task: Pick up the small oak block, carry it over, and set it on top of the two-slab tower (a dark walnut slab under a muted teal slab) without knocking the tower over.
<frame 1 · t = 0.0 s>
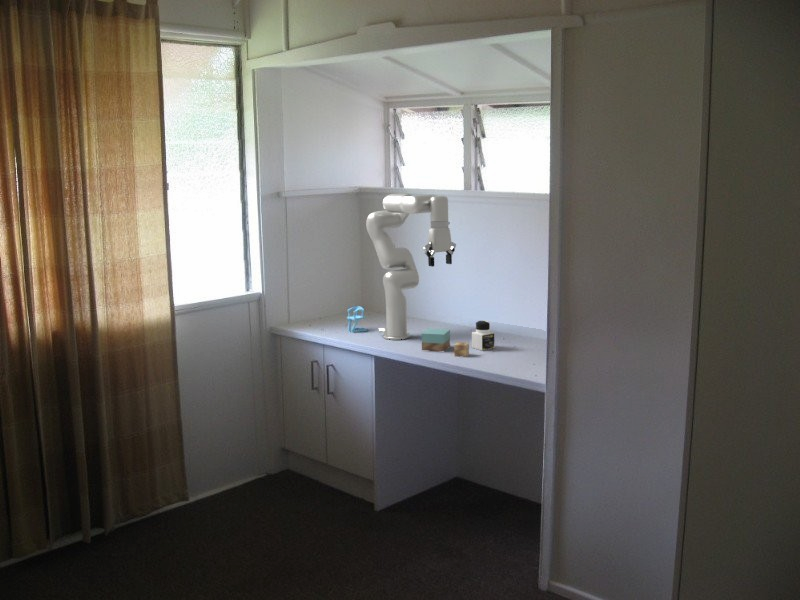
hand: (440, 265, 359), 37 cm above the table, tool pointing down, fingers open, 9 cm apart
chair: (356, 331, 408), on the table
teal slab: (436, 340, 367), point 4 cm above the table, touching walnut slab
walnut slab: (436, 349, 368), on the table, touching teal slab
oak block: (461, 355, 355), on the table
medicine bottle: (483, 348, 366), on the table
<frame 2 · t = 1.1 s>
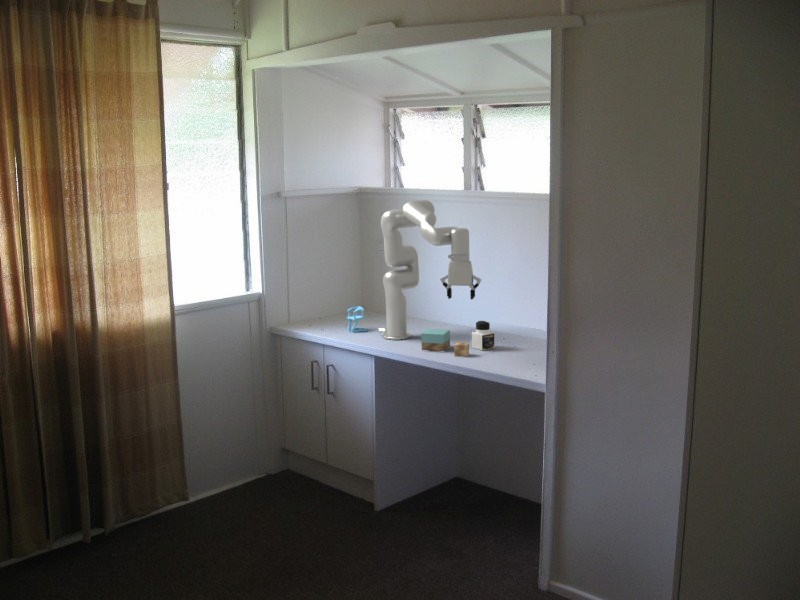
hand: (461, 298, 351), 24 cm above the table, tool pointing down, fingers open, 9 cm apart
nothing on the table moved.
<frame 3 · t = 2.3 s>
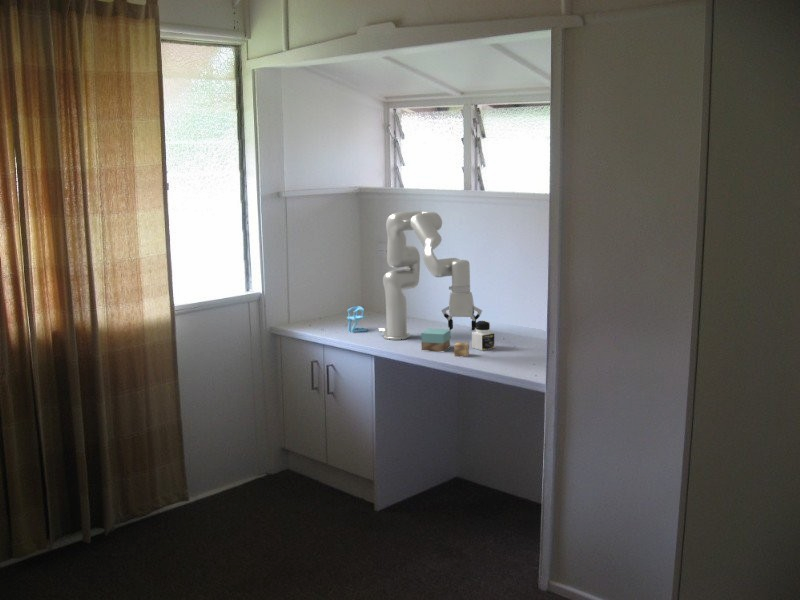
hand: (462, 329, 353), 11 cm above the table, tool pointing down, fingers open, 9 cm apart
nothing on the table moved.
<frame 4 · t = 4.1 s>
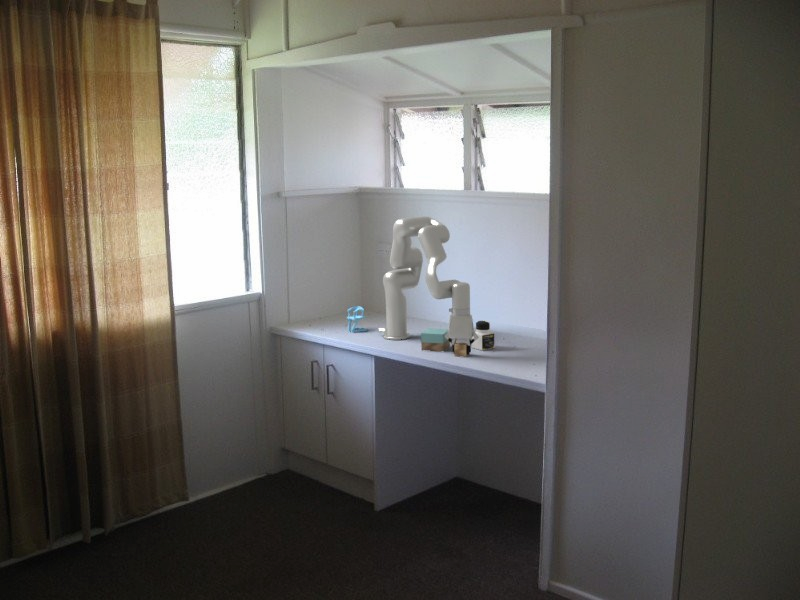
hand: (461, 353, 355), 1 cm above the table, tool pointing down, fingers closed on oak block, 5 cm apart
oak block: (461, 355, 355), on the table, touching gripper
everything else where it was.
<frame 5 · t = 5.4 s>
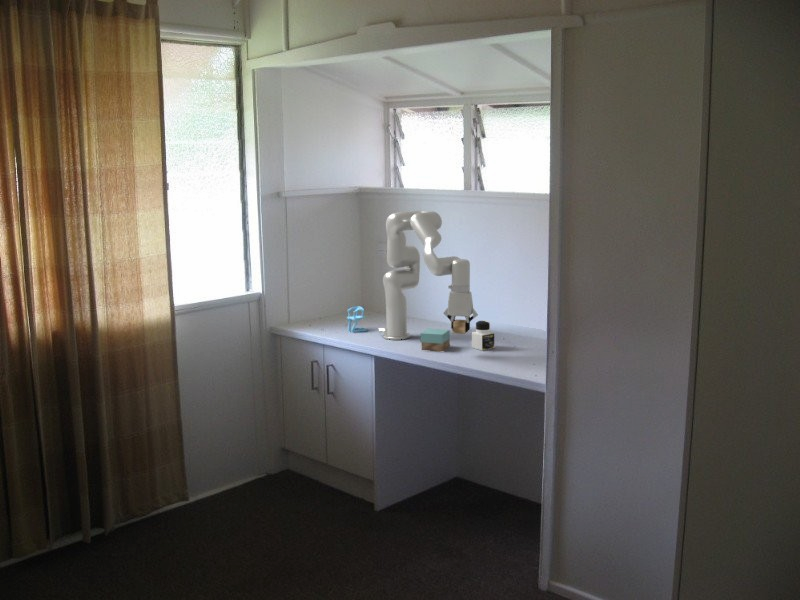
hand: (460, 330, 354), 11 cm above the table, tool pointing down, fingers closed on oak block, 4 cm apart
oak block: (460, 332, 354), point 10 cm above the table, touching gripper
everything else where it was.
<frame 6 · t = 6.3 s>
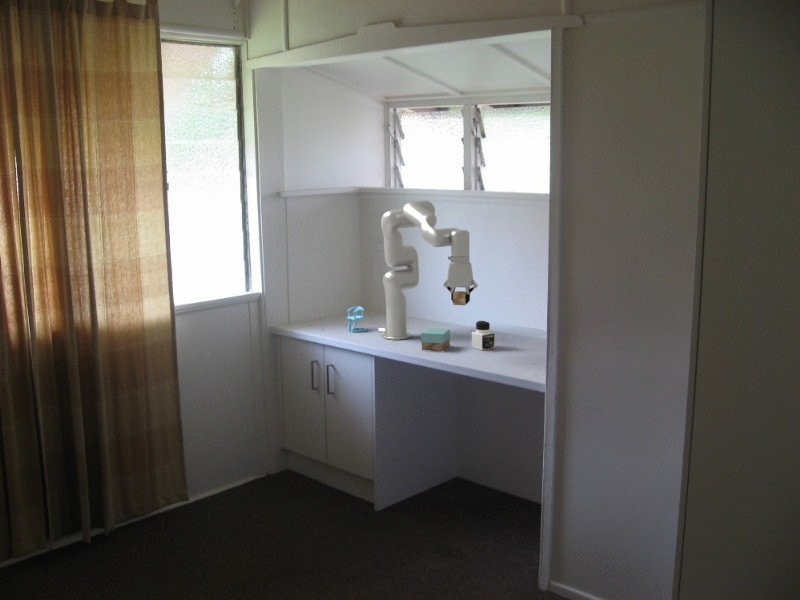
hand: (460, 302, 351), 23 cm above the table, tool pointing down, fingers closed on oak block, 4 cm apart
teal slab: (435, 340, 367), point 4 cm above the table
walnut slab: (435, 348, 368), on the table
oak block: (460, 303, 352), point 22 cm above the table, touching gripper
everything else where it was.
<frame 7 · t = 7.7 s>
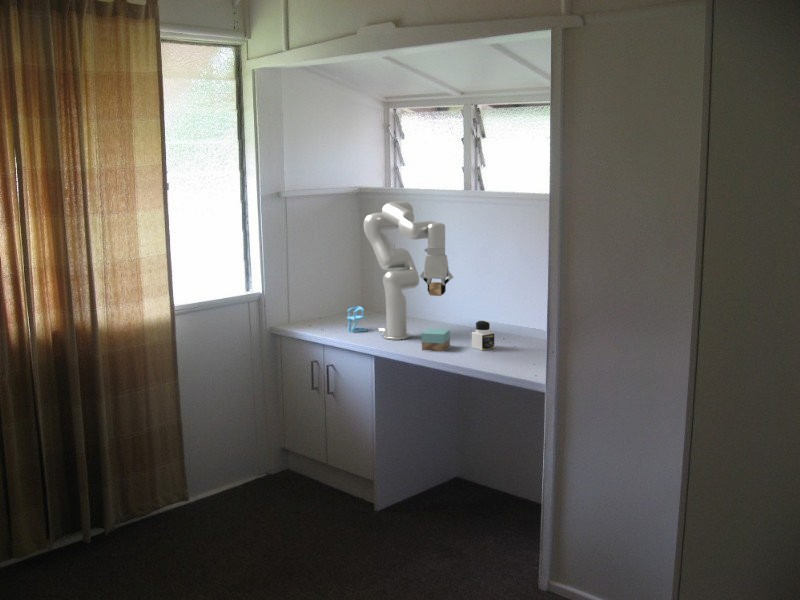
hand: (436, 293, 363), 25 cm above the table, tool pointing down, fingers closed on oak block, 4 cm apart
teal slab: (436, 340, 368), point 4 cm above the table, touching walnut slab
walnut slab: (436, 349, 368), on the table, touching teal slab
oak block: (436, 294, 363), point 24 cm above the table, touching gripper
everything else where it was.
when the fingers open (10 cm above the table, at t = 10.6 s): oak block drops 2 cm, resting on teal slab.
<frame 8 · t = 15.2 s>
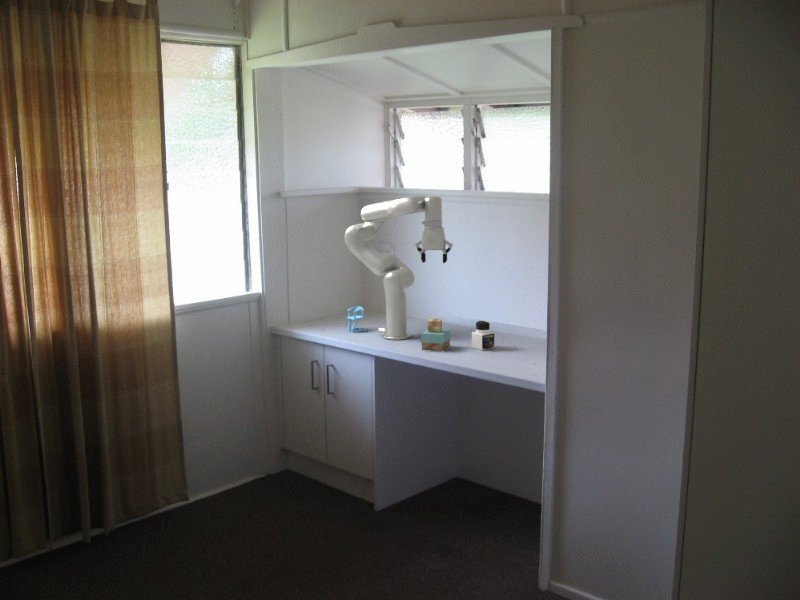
hand: (434, 262, 375), 36 cm above the table, tool pointing down, fingers open, 9 cm apart
teal slab: (435, 340, 368), point 3 cm above the table, touching oak block, walnut slab
oak block: (435, 331, 367), point 8 cm above the table, touching teal slab
everything else where it was.
at the end: teal slab 0.1 cm off-centre on the walnut slab, point 4.0 cm above the walnut slab's base; oak block 0.6 cm off-centre on the teal slab, point 4.0 cm above the teal slab's base; oak block tilted 0° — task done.
